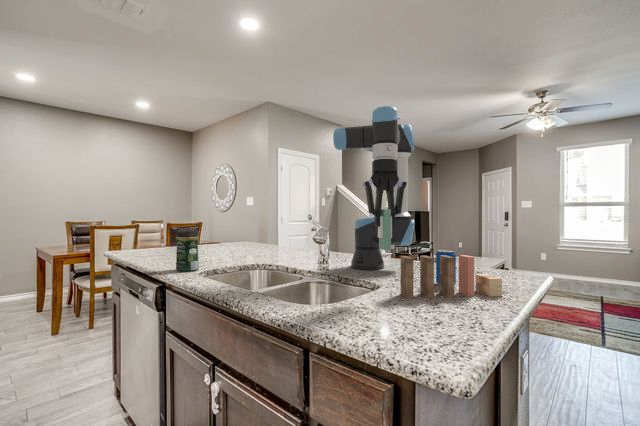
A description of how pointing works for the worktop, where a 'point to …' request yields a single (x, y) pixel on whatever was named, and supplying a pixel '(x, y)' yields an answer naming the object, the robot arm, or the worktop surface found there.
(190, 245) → the coffee jar
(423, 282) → the tile
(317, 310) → the worktop surface
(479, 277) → the oak block
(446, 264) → the tile
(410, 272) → the tile
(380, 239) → the green tile
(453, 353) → the worktop surface
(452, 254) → the blue rectangular box
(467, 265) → the red end tile
